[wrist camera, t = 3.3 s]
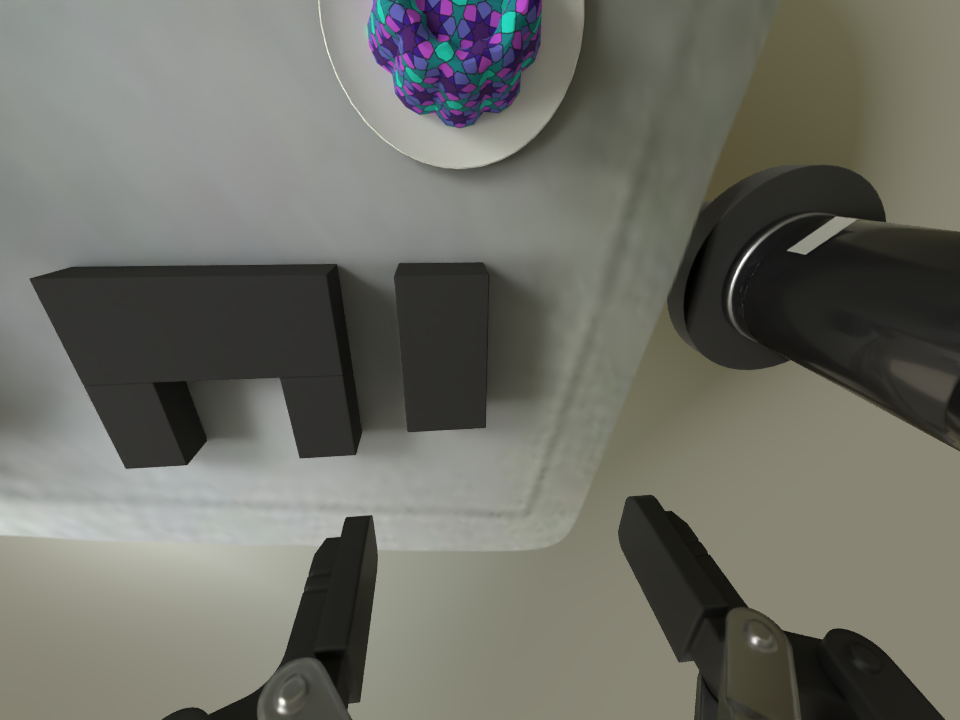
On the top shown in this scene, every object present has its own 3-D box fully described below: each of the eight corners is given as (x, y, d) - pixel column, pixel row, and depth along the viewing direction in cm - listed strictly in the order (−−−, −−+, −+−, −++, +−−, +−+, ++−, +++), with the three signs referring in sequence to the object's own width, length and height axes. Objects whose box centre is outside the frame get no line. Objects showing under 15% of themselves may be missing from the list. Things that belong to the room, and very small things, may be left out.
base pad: (337, 263, 23) (326, 274, 20) (362, 432, 28) (356, 455, 26) (71, 266, 21) (28, 278, 19) (151, 443, 26) (125, 469, 24)
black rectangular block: (482, 262, 23) (489, 274, 21) (480, 403, 28) (485, 428, 25) (398, 263, 23) (393, 275, 20) (409, 406, 27) (407, 432, 25)
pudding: (548, 185, 22) (580, 190, 17) (325, 148, 20) (291, 143, 15) (610, -118, 17) (678, -228, 12) (316, -206, 15) (263, -377, 10)
